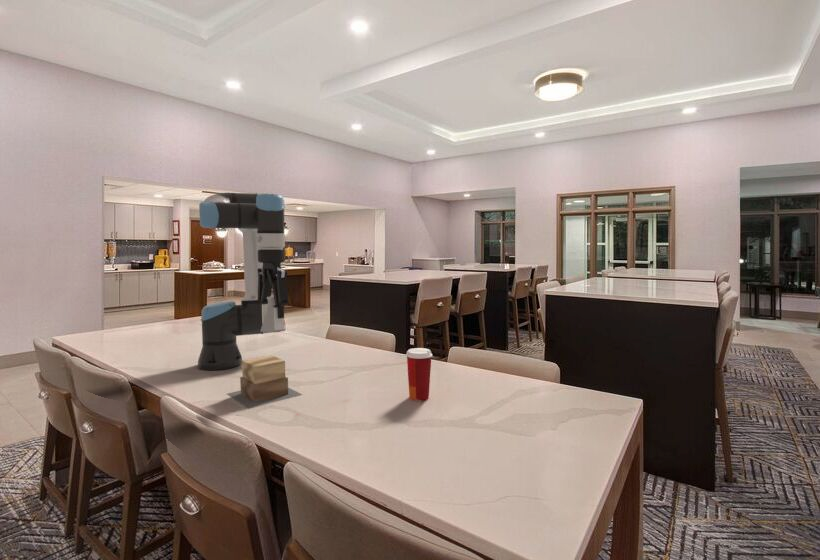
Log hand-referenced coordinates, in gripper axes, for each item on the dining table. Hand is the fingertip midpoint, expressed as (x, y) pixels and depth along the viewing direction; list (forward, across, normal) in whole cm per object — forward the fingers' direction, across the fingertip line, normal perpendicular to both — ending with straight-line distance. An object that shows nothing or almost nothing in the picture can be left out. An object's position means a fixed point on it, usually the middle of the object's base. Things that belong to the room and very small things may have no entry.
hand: (273, 327), depth 127 cm
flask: (+1, 0, 0) cm, 1 cm away
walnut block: (+20, -1, -3) cm, 20 cm away
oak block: (+15, -1, -3) cm, 15 cm away
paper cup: (+21, +31, +29) cm, 47 cm away
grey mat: (+21, -1, -3) cm, 21 cm away
